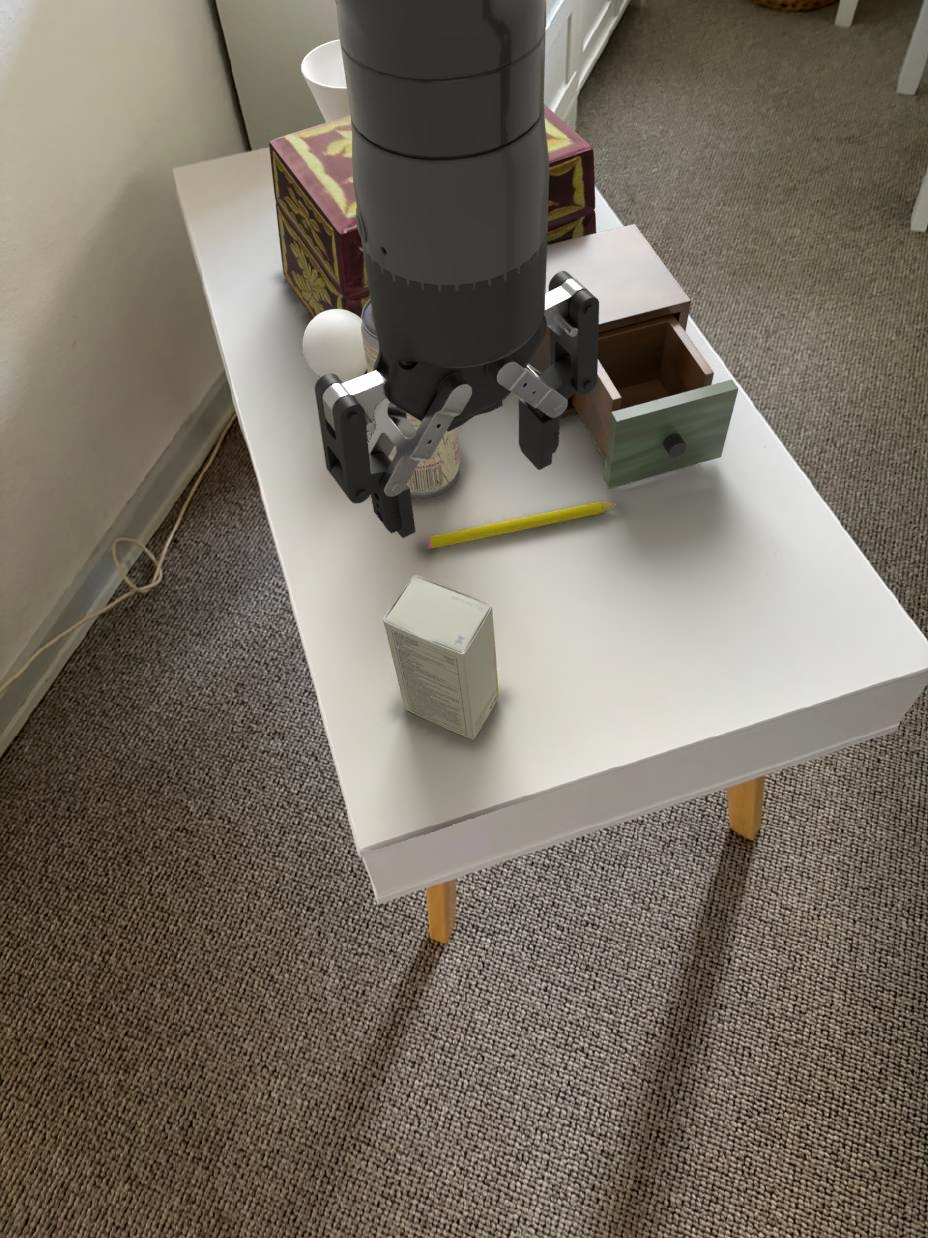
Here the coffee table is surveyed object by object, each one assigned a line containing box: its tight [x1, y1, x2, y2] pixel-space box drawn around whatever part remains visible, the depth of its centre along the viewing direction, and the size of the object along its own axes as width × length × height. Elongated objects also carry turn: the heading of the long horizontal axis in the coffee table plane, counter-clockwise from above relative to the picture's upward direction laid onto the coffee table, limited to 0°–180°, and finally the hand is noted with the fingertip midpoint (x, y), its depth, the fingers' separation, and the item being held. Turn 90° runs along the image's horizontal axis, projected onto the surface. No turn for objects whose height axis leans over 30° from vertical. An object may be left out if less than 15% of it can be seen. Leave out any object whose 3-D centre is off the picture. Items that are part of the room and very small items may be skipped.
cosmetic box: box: [382, 574, 500, 741], centre depth 69 cm, size 6×4×12 cm
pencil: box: [425, 501, 618, 550], centre depth 82 cm, size 16×1×1 cm, turn 103°
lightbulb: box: [302, 309, 367, 383], centre depth 87 cm, size 6×6×11 cm
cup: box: [300, 38, 351, 123], centre depth 107 cm, size 10×10×14 cm
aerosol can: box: [361, 300, 461, 499], centre depth 79 cm, size 7×7×20 cm
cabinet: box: [528, 223, 692, 419], centre depth 90 cm, size 12×12×10 cm
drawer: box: [571, 314, 739, 490], centre depth 84 cm, size 12×11×8 cm
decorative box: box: [268, 103, 597, 375], centre depth 95 cm, size 28×19×15 cm
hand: (469, 491), depth 52 cm, fingers open, 8 cm apart
